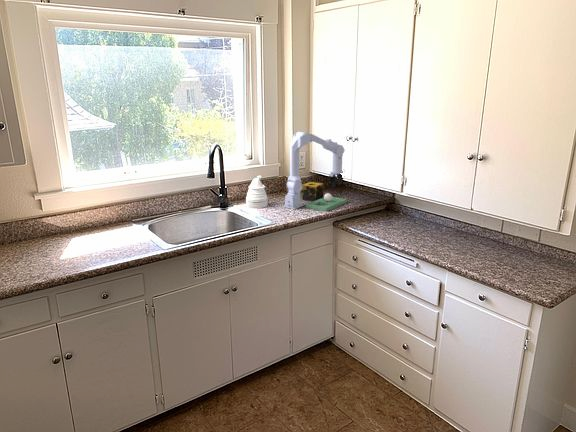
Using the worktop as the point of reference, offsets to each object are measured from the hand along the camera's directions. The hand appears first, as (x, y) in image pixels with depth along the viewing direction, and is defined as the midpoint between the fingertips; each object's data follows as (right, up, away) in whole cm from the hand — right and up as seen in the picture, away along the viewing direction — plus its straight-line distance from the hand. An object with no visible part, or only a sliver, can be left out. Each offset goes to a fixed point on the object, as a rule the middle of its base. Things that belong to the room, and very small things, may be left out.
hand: (336, 186), depth 265 cm
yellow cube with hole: (-14, -8, +7) cm, 18 cm away
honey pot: (-49, -12, -6) cm, 51 cm away
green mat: (-7, -12, -6) cm, 15 cm away
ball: (-6, -7, -7) cm, 12 cm away
